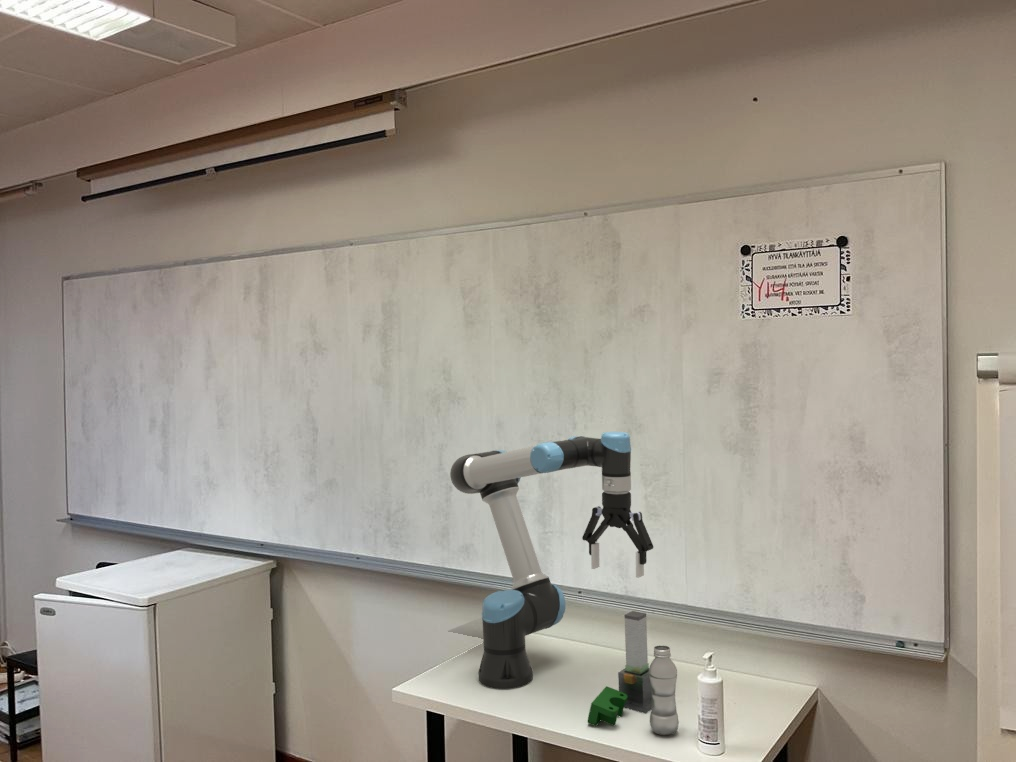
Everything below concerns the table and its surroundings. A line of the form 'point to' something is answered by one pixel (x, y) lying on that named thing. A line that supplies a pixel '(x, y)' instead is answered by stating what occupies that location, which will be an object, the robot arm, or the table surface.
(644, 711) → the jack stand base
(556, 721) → the table surface
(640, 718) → the table surface
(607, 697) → the clamp
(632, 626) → the column
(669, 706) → the plastic bottle
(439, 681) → the table surface
